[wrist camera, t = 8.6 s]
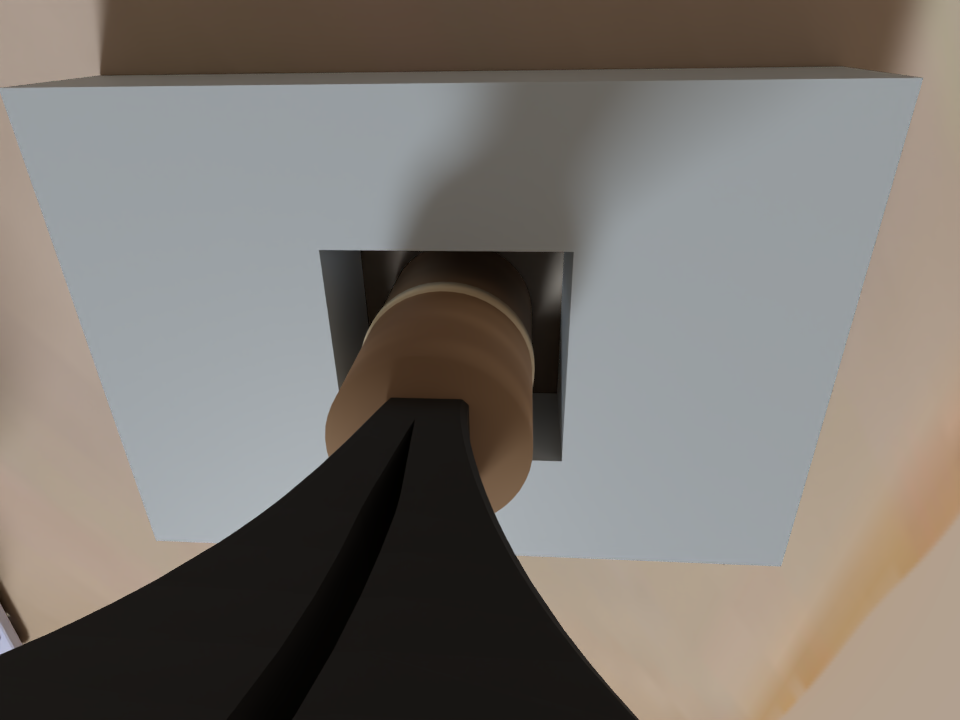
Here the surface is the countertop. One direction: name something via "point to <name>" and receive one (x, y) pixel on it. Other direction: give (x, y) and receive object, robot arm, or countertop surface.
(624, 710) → the robot arm
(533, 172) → the grey board
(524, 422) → the walnut peg
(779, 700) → the countertop surface
